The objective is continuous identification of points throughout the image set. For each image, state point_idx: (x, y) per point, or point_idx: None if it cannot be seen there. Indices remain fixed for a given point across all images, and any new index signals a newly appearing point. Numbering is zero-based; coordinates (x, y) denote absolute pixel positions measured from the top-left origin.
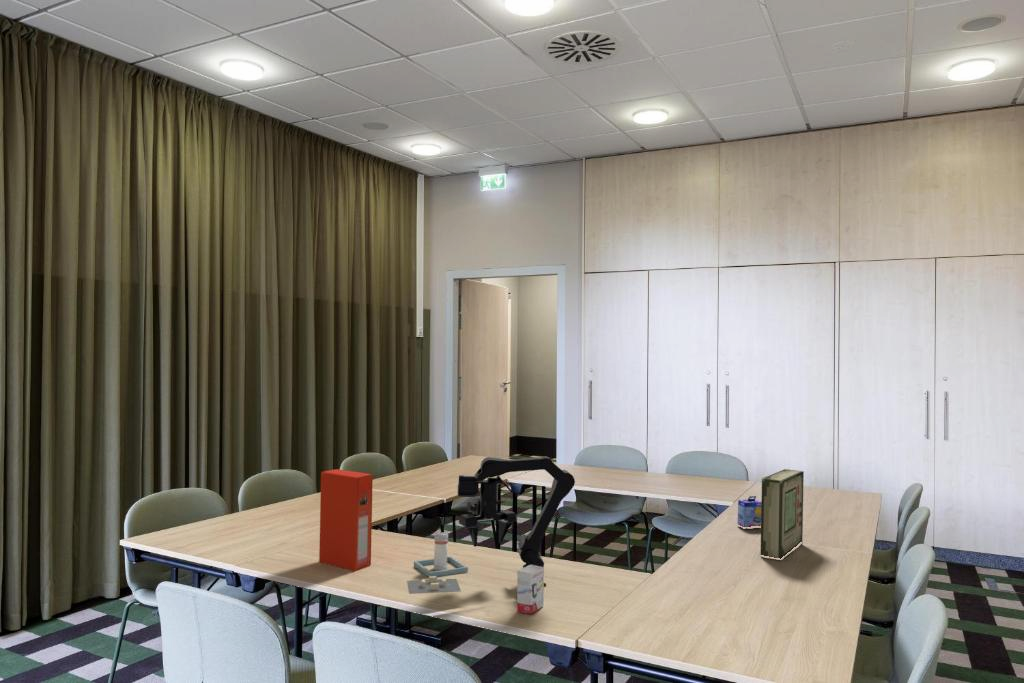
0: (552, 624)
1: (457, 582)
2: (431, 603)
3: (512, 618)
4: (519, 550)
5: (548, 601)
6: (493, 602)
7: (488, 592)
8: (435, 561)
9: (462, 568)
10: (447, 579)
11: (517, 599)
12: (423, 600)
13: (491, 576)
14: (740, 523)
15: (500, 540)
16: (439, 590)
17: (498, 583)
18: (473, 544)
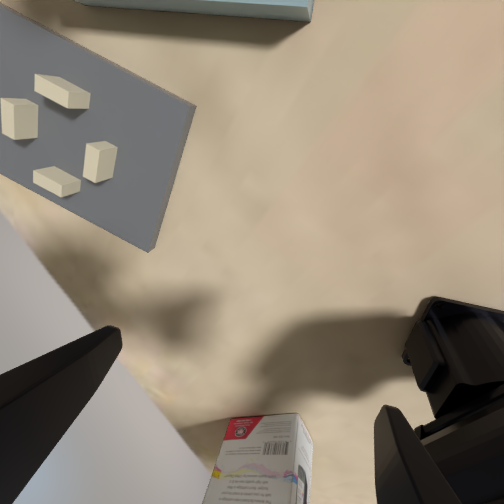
0: None
1: (173, 161)
2: (53, 251)
3: (200, 425)
4: (468, 475)
5: (352, 437)
6: (213, 351)
7: (247, 290)
8: None
9: (265, 4)
10: (147, 91)
11: (220, 450)
12: (35, 217)
13: (404, 137)
14: None
15: (377, 461)
16: (81, 200)
17: (349, 243)
18: (94, 337)
